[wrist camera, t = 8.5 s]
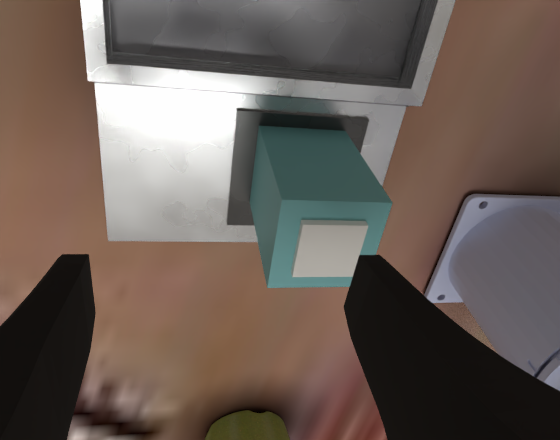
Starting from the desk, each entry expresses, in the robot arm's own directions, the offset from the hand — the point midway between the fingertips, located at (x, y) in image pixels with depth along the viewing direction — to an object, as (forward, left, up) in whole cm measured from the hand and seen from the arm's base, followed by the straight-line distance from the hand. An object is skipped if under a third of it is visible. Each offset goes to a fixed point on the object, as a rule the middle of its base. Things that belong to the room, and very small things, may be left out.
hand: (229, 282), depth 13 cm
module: (-4, +2, -10) cm, 10 cm away
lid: (-2, +2, -10) cm, 11 cm away
